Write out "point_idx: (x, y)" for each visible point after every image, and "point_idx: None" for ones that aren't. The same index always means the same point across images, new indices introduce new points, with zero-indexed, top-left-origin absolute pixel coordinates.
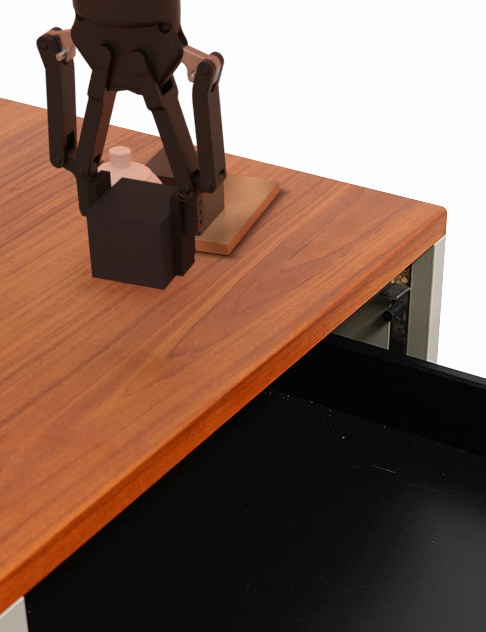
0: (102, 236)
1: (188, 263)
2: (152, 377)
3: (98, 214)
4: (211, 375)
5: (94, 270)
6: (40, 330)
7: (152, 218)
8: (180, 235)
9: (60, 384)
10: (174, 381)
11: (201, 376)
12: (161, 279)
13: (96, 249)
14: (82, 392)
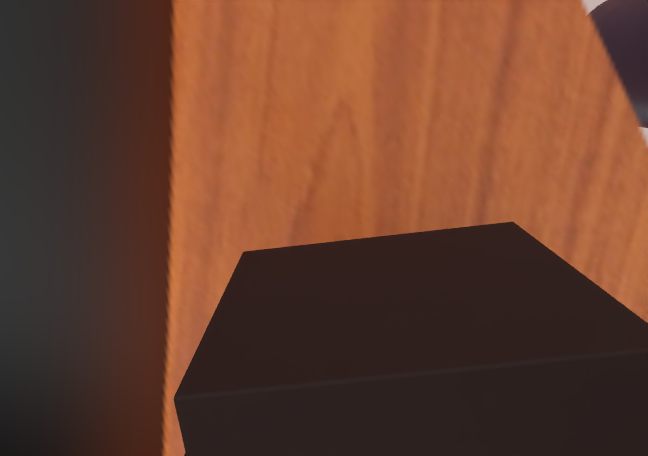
0: (518, 292)
1: None
2: (329, 197)
3: (587, 350)
4: (224, 255)
5: (510, 229)
6: (630, 266)
7: (256, 441)
8: (185, 453)
9: (495, 87)
10: (280, 202)
11: (240, 243)
12: (244, 264)
13: (527, 261)
14: (435, 78)
